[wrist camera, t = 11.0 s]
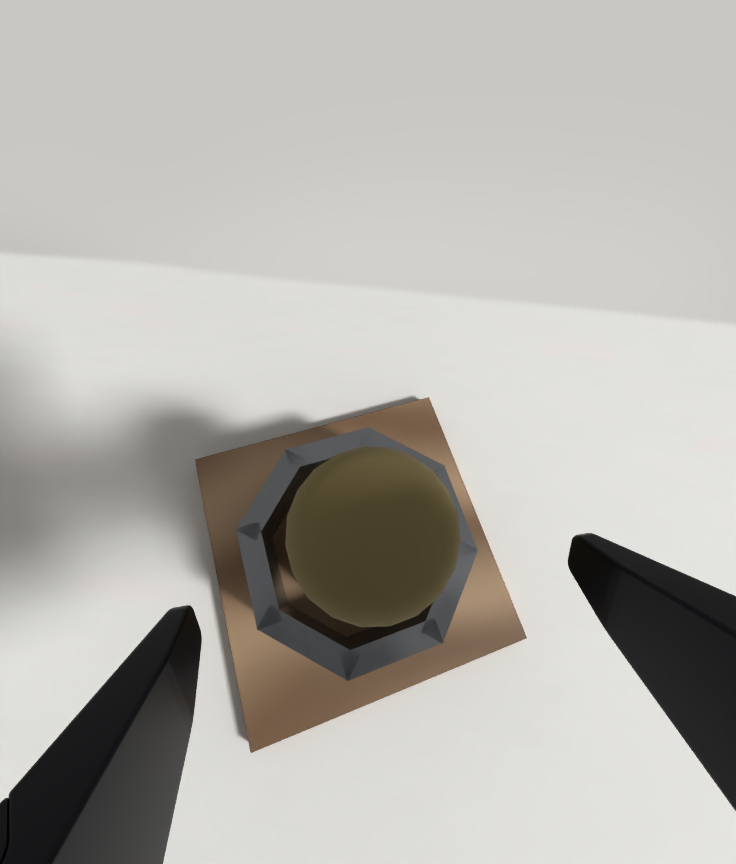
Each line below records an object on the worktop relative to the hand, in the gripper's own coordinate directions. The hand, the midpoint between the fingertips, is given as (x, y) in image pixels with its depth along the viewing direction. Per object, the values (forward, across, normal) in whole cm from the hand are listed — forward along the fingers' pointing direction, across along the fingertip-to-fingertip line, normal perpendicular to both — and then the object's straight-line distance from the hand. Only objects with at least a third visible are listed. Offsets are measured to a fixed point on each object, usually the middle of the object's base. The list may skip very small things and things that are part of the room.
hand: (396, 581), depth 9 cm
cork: (+10, 0, +7) cm, 12 cm away
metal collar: (+10, 0, +8) cm, 13 cm away
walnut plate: (+10, 0, +8) cm, 13 cm away
